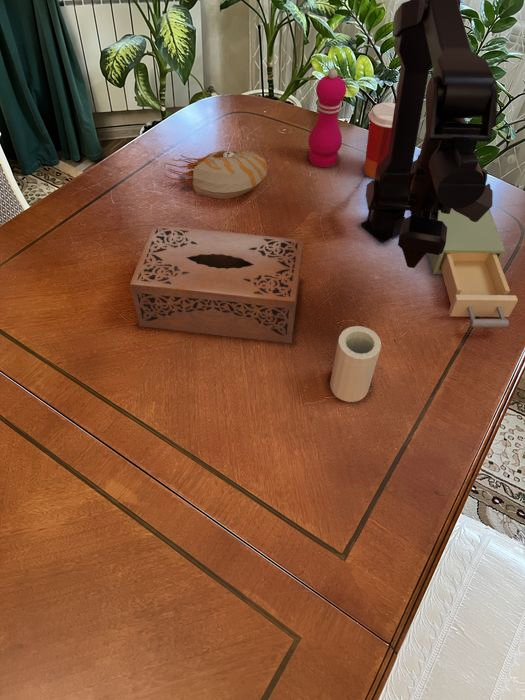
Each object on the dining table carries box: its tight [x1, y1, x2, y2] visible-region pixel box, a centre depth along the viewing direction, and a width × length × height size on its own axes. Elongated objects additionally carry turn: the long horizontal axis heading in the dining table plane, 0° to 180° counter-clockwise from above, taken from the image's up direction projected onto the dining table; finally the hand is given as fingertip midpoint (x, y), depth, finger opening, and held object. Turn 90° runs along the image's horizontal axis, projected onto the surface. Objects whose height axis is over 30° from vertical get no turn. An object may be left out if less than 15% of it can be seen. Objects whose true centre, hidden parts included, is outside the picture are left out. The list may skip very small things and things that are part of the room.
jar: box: [329, 325, 382, 403], centre depth 86 cm, size 6×6×11 cm
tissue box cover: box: [129, 223, 304, 344], centre depth 96 cm, size 26×14×10 cm, turn 83°
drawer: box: [440, 253, 519, 329], centre depth 99 cm, size 18×10×4 cm, turn 0°
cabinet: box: [427, 208, 506, 275], centre depth 108 cm, size 14×11×6 cm
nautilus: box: [164, 150, 269, 200], centre depth 118 cm, size 8×22×15 cm
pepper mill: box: [308, 68, 347, 168], centre depth 119 cm, size 7×7×20 cm
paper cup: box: [363, 101, 395, 179], centre depth 119 cm, size 8×8×14 cm
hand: (413, 247), depth 90 cm, fingers open, 9 cm apart
